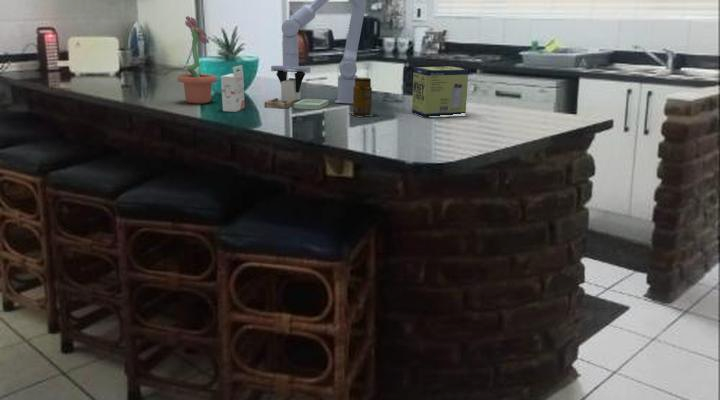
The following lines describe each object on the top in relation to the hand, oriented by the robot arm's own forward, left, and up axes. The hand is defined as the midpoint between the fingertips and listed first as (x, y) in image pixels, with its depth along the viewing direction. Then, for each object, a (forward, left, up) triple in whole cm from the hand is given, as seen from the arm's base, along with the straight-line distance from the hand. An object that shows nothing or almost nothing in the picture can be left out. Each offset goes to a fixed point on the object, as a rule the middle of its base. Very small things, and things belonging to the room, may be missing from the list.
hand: (291, 91), depth 234 cm
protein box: (-56, +10, -4) cm, 57 cm away
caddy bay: (0, +10, -4) cm, 11 cm away
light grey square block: (0, 0, -3) cm, 3 cm away
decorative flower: (+30, +14, -4) cm, 33 cm away
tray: (-10, +8, -4) cm, 14 cm away
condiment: (-32, +19, -4) cm, 37 cm away
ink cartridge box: (+12, +24, -4) cm, 27 cm away
